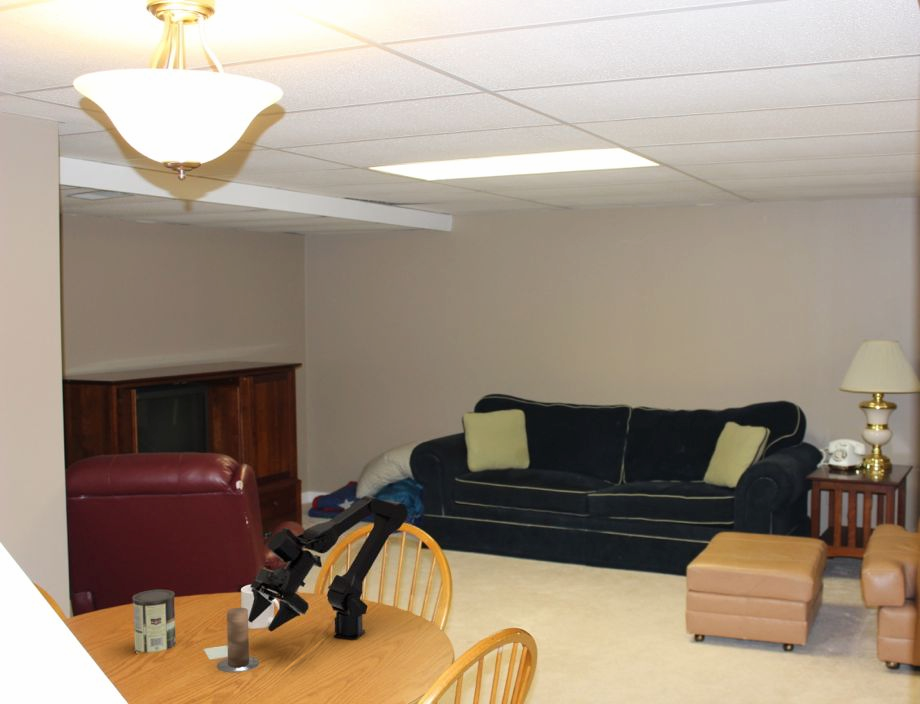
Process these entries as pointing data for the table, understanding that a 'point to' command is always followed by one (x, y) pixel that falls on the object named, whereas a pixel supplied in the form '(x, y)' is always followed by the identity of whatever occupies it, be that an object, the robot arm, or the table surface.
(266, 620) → the mug
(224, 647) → the stand
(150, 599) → the coffee can
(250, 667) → the grey saucer
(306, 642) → the table surface
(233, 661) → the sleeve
